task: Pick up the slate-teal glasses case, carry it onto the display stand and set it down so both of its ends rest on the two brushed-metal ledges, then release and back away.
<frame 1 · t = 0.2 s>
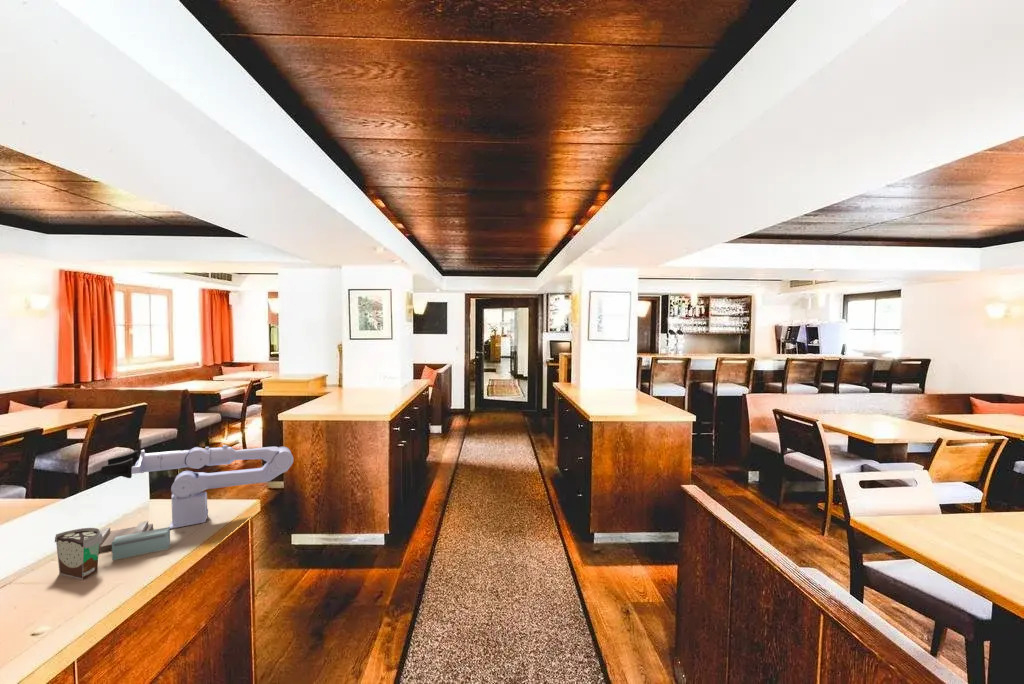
hand: (104, 466, 136), 21 cm above the worktop, tool horizontal, fingers open, 7 cm apart
display stand: (121, 540, 133), on the worktop
food container: (85, 571, 116), on the worktop
glasses case: (142, 552, 126), on the worktop
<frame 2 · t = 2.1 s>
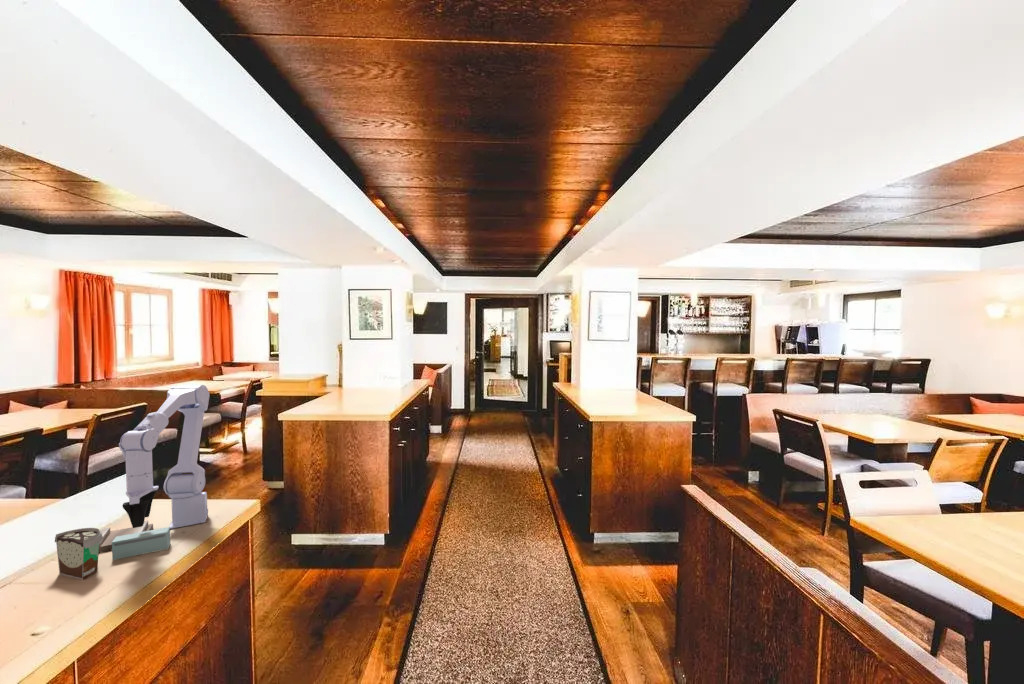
hand: (141, 521, 126), 8 cm above the worktop, tool pointing down, fingers open, 7 cm apart
nothing on the worktop moved.
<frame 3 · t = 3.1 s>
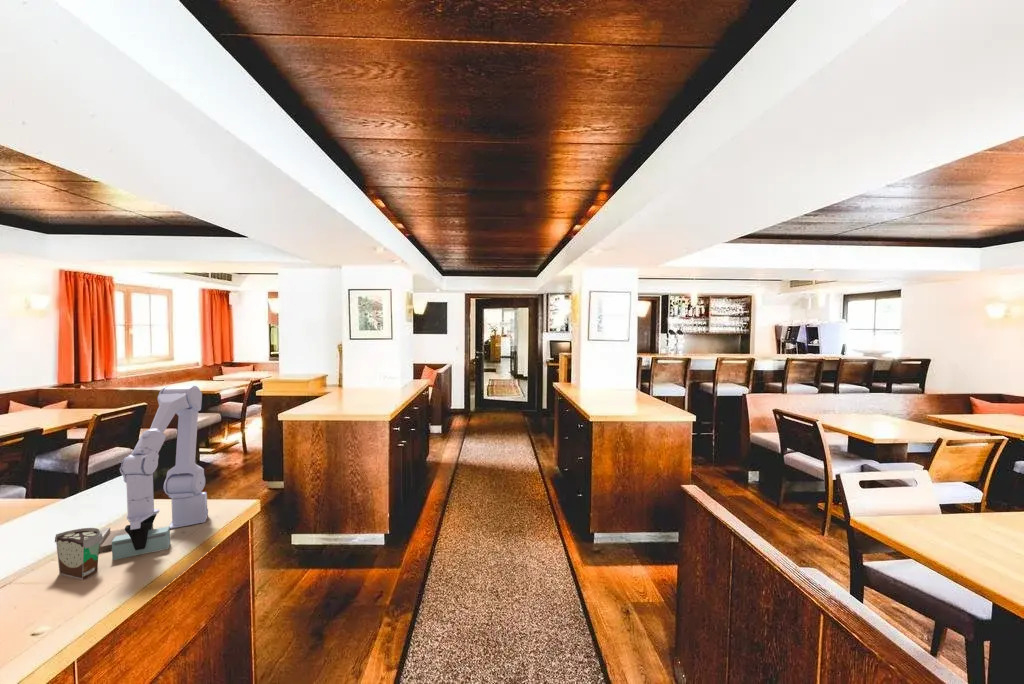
hand: (142, 545, 126), 2 cm above the worktop, tool pointing down, fingers closed on glasses case, 4 cm apart
glasses case: (142, 551, 126), on the worktop, touching gripper
everything else where it was.
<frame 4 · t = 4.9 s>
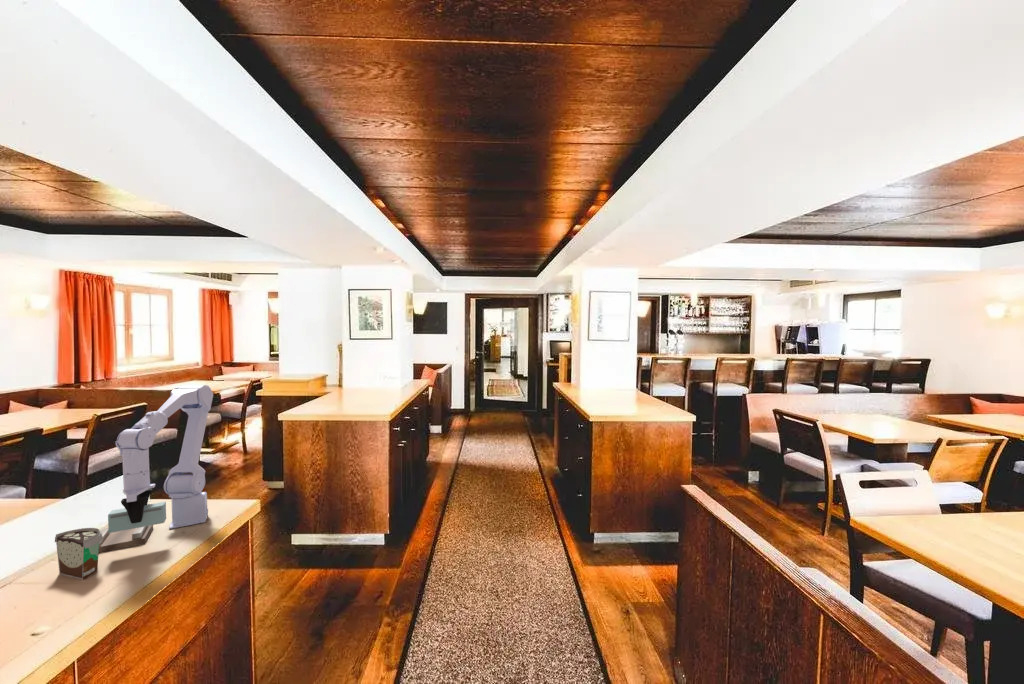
hand: (138, 519, 127), 9 cm above the worktop, tool pointing down, fingers closed on glasses case, 4 cm apart
glasses case: (138, 525, 127), point 7 cm above the worktop, touching gripper
everything else where it was.
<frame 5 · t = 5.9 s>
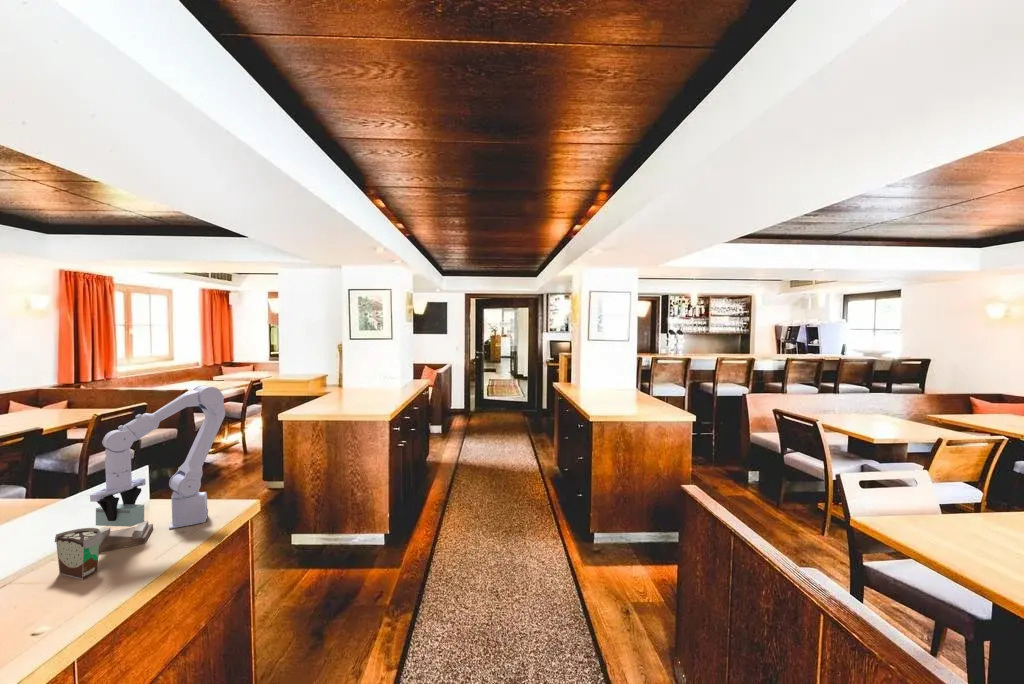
hand: (120, 517, 133), 7 cm above the worktop, tool pointing down, fingers closed on glasses case, 4 cm apart
glasses case: (120, 523, 133), point 5 cm above the worktop, touching gripper
everything else where it was.
when the fingers open (6 cm above the worktop, at t = 6.5 s): glasses case stays where it is, resting on display stand.
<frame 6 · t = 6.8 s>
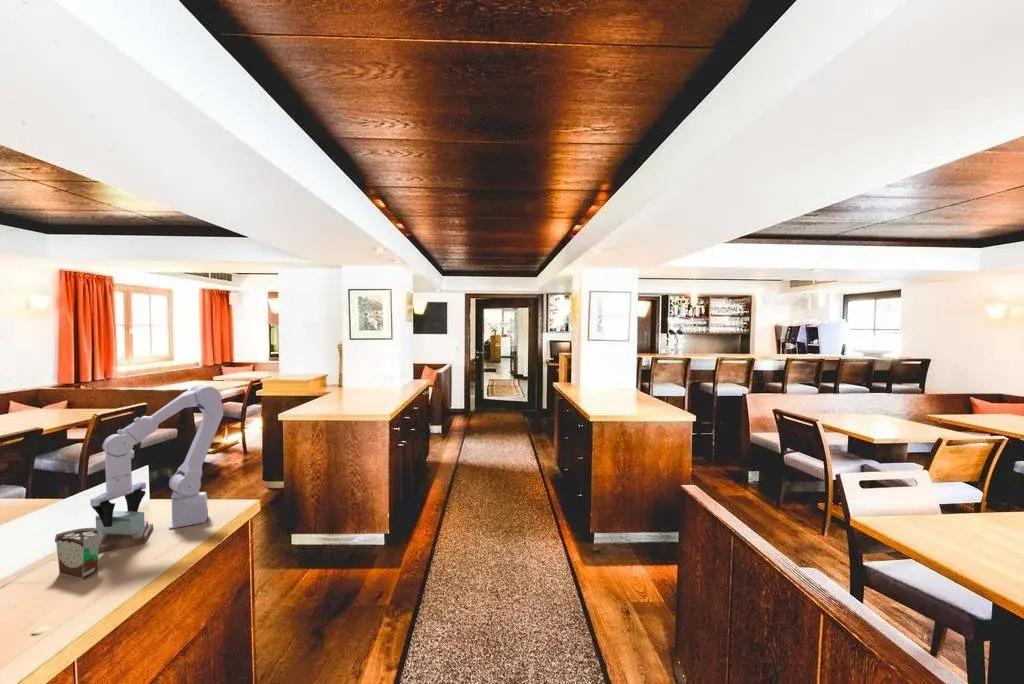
hand: (120, 521, 133), 6 cm above the worktop, tool pointing down, fingers open, 7 cm apart
glasses case: (120, 530, 133), point 3 cm above the worktop, touching display stand
everything else where it was.
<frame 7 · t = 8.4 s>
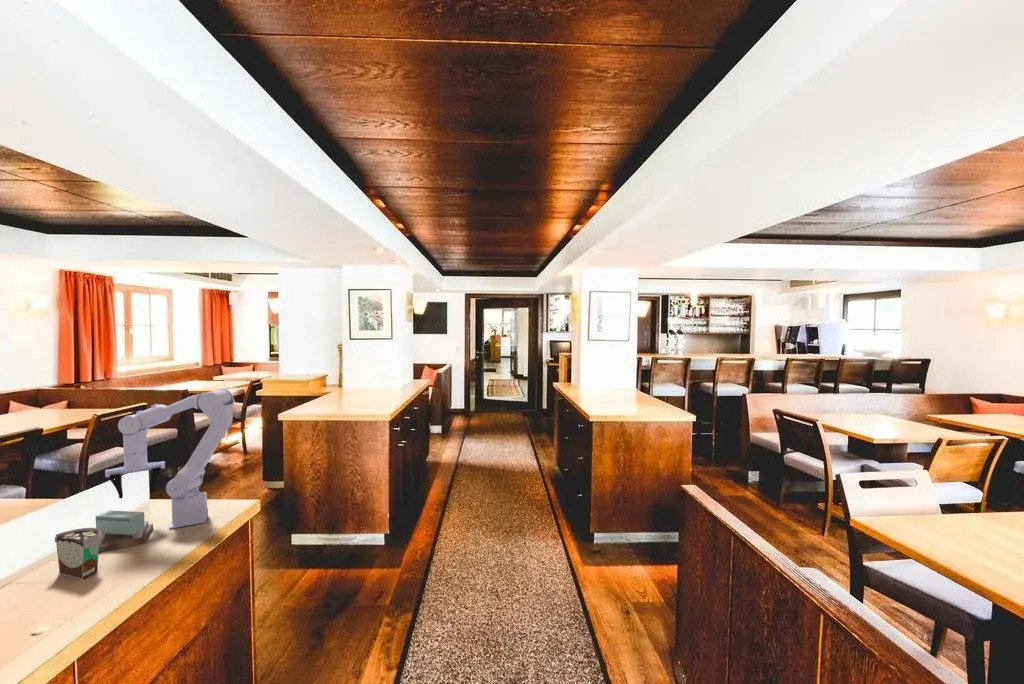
hand: (137, 494, 144), 10 cm above the worktop, tool pointing down, fingers open, 7 cm apart
nothing on the worktop moved.
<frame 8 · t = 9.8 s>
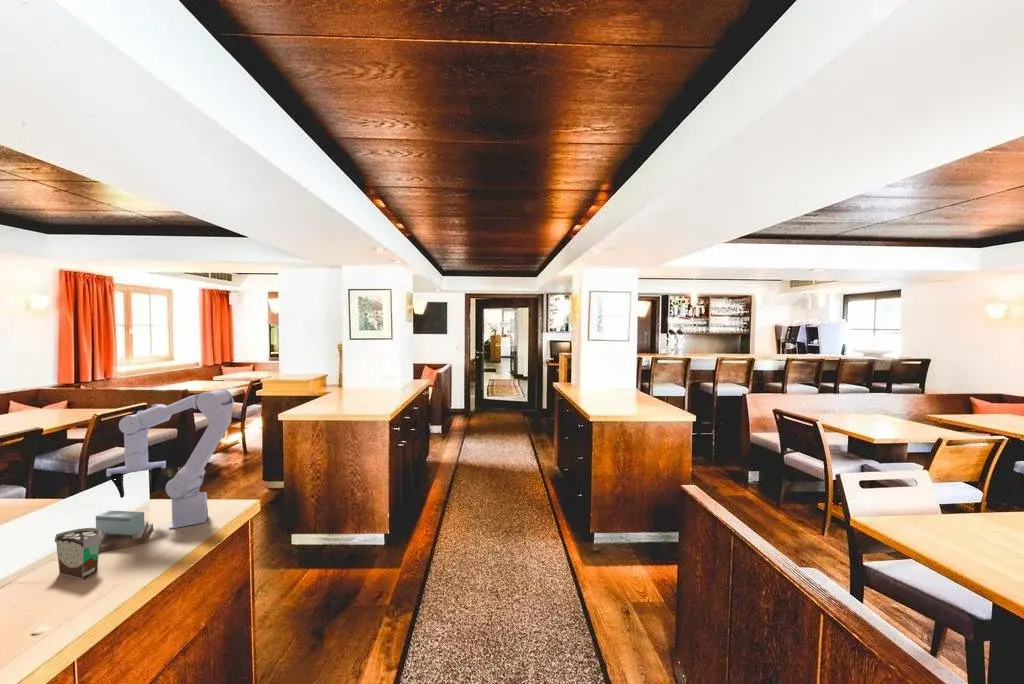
hand: (138, 494, 145), 10 cm above the worktop, tool pointing down, fingers open, 7 cm apart
nothing on the worktop moved.
at the end: glasses case 0.1 cm off-centre on the display stand, point 3.0 cm above the display stand's base; glasses case tilted 0°; the gripper is holding nothing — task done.
